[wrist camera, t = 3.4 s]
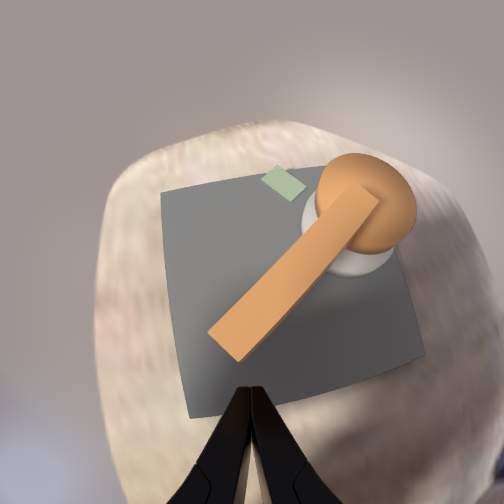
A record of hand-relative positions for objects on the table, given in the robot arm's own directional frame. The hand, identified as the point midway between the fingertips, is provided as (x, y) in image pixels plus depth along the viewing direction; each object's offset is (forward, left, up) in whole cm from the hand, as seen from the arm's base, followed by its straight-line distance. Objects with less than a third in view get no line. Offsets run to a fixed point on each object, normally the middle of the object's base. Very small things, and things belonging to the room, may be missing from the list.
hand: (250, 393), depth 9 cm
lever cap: (+5, +5, -3) cm, 8 cm away
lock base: (+3, +5, -7) cm, 9 cm away
